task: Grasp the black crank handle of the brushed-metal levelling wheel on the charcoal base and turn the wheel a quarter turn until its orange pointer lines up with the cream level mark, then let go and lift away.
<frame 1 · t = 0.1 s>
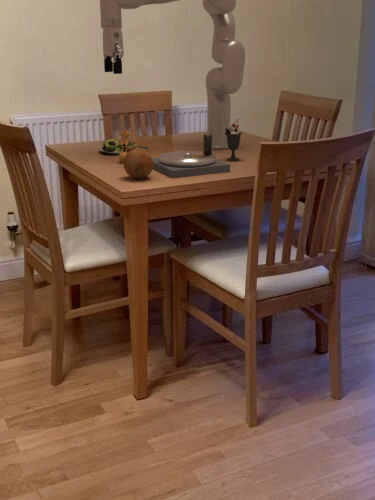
hand: (113, 72, 237), 31 cm above the table, fingers open, 9 cm apart
salad plate: (120, 152, 257), on the table
onion: (138, 178, 213), on the table
level wheel: (187, 148, 225), point 7 cm above the table, hinge at 0.0°
sundae: (233, 160, 241), on the table
figurine: (125, 162, 237), on the table
instrument base: (187, 168, 227), on the table
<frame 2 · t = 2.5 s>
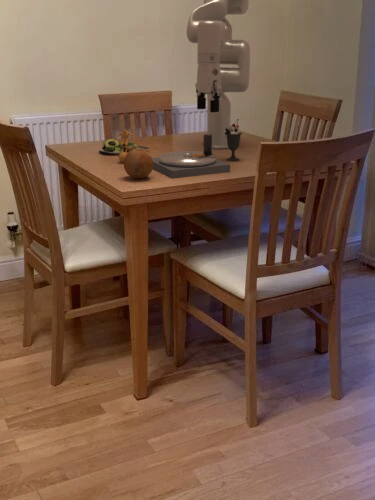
hand: (207, 110, 223), 20 cm above the table, fingers open, 9 cm apart
nothing on the table moved.
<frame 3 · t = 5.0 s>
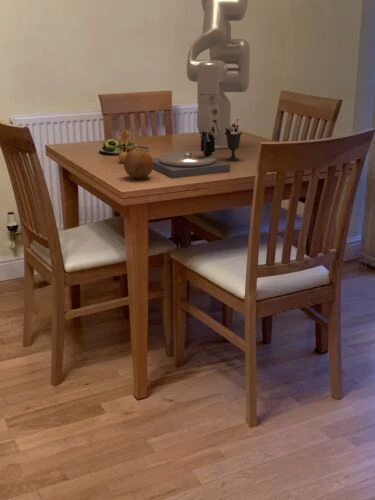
hand: (207, 151, 228), 6 cm above the table, fingers closed on level wheel, 3 cm apart
level wheel: (187, 148, 225), point 7 cm above the table, hinge at 0.0°, touching gripper
everything else where it was.
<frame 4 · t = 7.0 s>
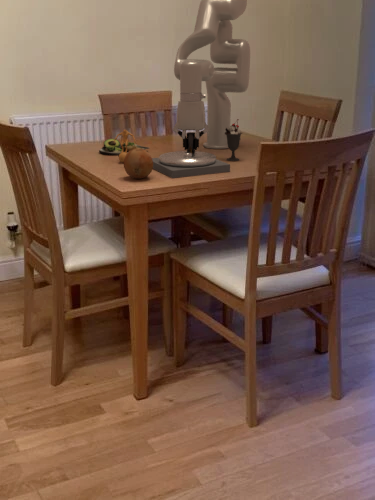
hand: (190, 148, 232), 6 cm above the table, fingers closed on level wheel, 3 cm apart
level wheel: (187, 148, 225), point 7 cm above the table, hinge at 55.1°, touching gripper
everything else where it was.
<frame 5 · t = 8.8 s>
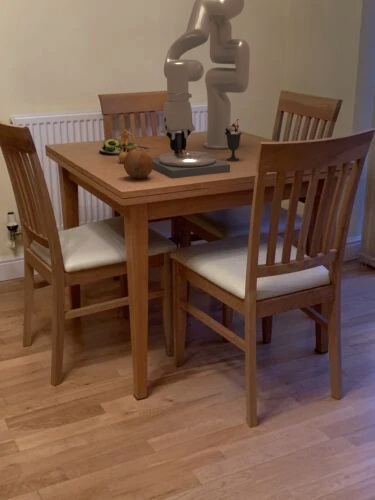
hand: (178, 149, 232), 6 cm above the table, fingers closed on level wheel, 3 cm apart
level wheel: (187, 148, 225), point 7 cm above the table, hinge at 88.8°, touching gripper
everything else where it was.
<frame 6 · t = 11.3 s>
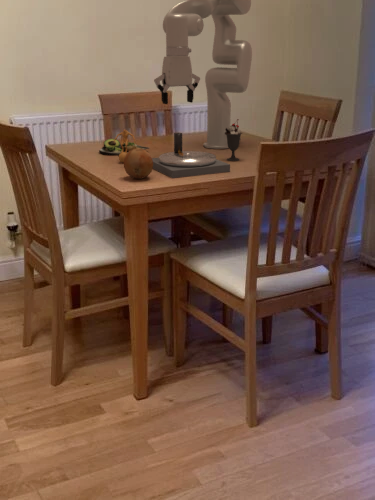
hand: (177, 102, 226), 22 cm above the table, fingers open, 9 cm apart
level wheel: (187, 148, 225), point 7 cm above the table, hinge at 88.8°
everything else where it was.
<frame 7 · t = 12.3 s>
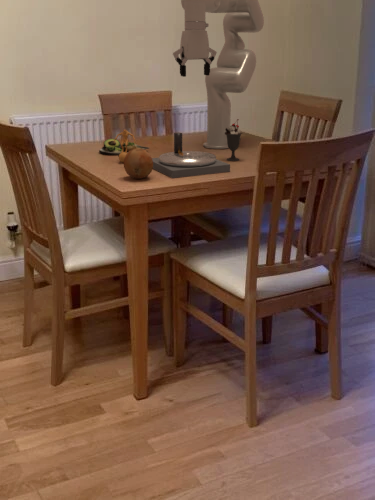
hand: (195, 75, 237), 30 cm above the table, fingers open, 9 cm apart
nothing on the table moved.
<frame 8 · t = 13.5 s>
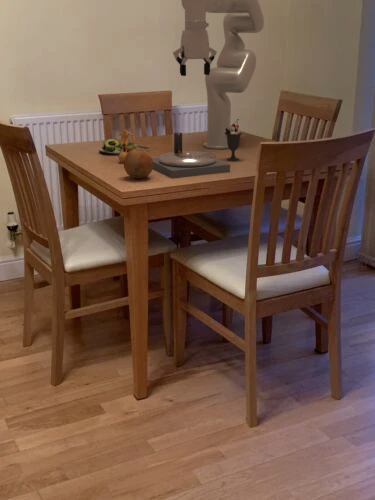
hand: (195, 75, 237), 30 cm above the table, fingers open, 9 cm apart
nothing on the table moved.
at the end: level wheel at +89° (first picture: +0°); the gripper is holding nothing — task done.
